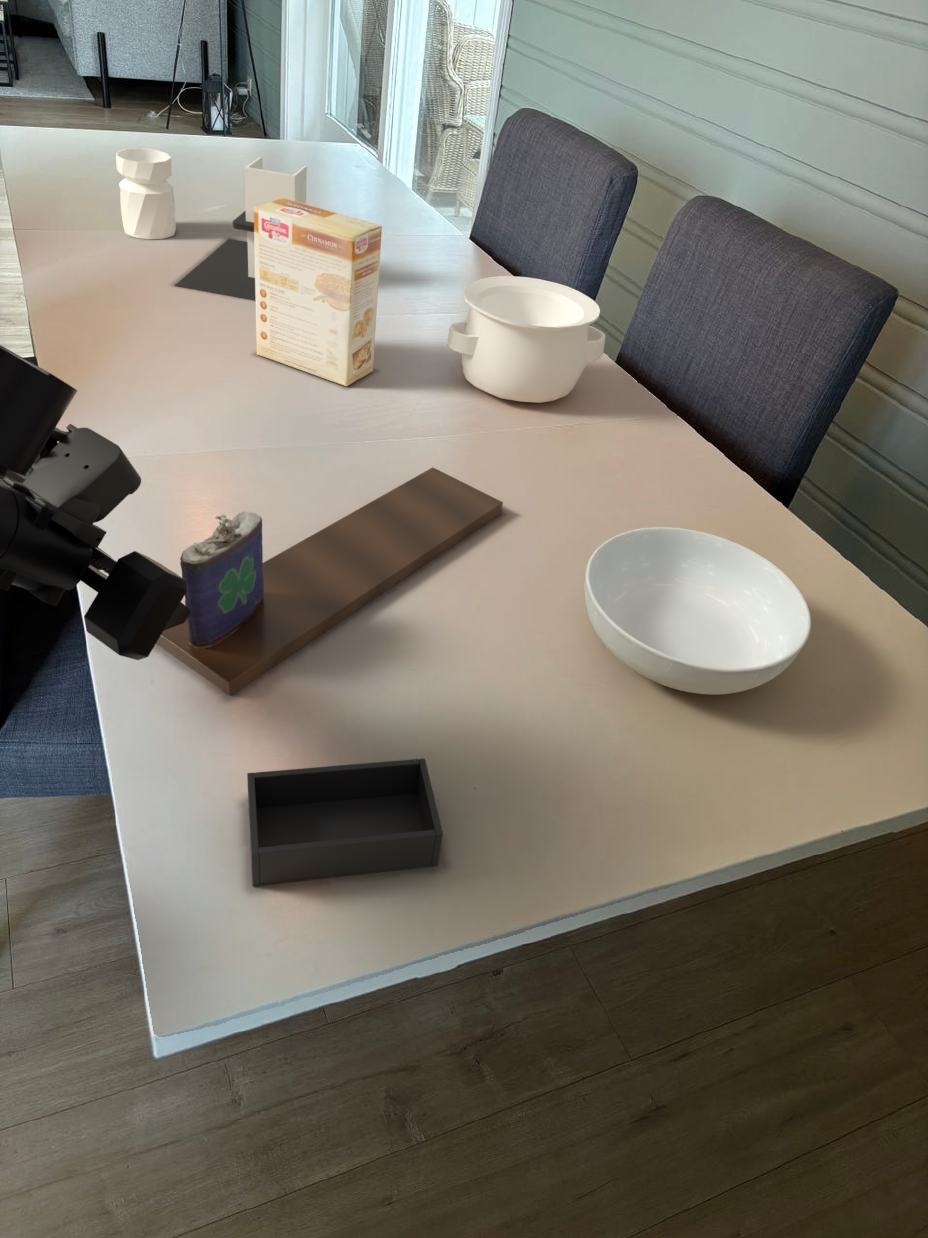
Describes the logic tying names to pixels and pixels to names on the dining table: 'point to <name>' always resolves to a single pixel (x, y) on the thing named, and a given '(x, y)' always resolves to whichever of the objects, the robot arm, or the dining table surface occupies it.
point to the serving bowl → (694, 610)
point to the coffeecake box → (316, 289)
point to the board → (339, 574)
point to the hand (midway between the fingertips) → (146, 588)
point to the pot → (526, 337)
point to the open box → (342, 821)
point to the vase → (146, 193)
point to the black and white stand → (236, 259)
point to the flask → (224, 579)
